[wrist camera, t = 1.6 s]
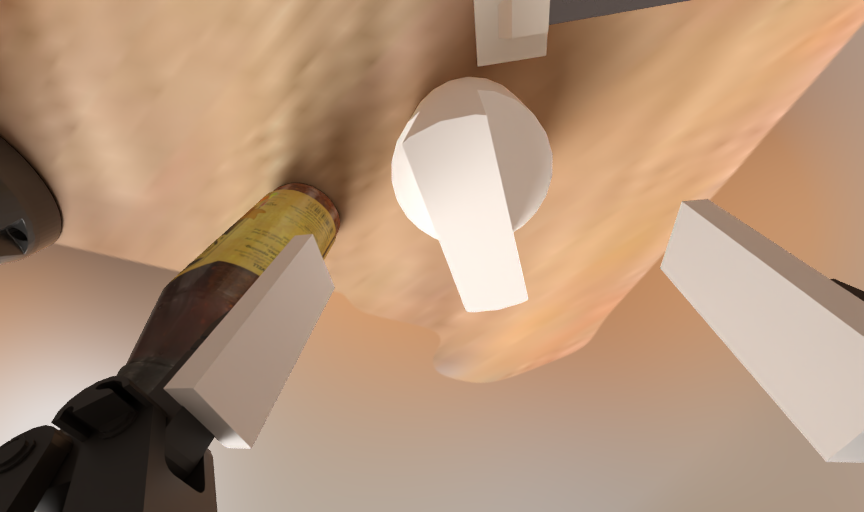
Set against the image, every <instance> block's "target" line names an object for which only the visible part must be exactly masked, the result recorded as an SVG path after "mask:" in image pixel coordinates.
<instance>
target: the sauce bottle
mask: <svg viewBox="0 0 864 512" xmlns="http://www.w3.org/2000/svg"><path fill="white" fill-rule="evenodd" d="M339 226H340V219H339V214H338V212H337V210H336V208H335V207H334V204H333V203H332V201H331V200H330V199H329V198H328V197H327V196H326V195H325V194H324V193H323V192H322V191H320V190H318V189H316V188H314V187H312V186H308V185H305V184H301V183H290V184H287V185H284V186H280V187H278V188H277V189H276V190H274V191H273V192H270V193H268V194H267V195H266V196H265V197H264V198H263V199H261V200H260V201H259V202H258V203H257V204H256V205H255V206H254V207H253V208H251V209H250V210H249V211H248V212H247V213H246V214H245V215H244V216H243V217H242V218H240V219H239V220H238V221H237V222H236V223H235V224H233V226H231V227H230V228H229V229H228V230H227V231H226V232H225V233H224V234H223V235H222V236H220V237H219V238H218V239H217V240H216V241H215V242H214V243H212V244H211V245H210V246H209V247H208V248H207V249H206V250H205V251H204V252H203V253H202V254H201V255H199V256H198V257H197V258H196V259H195V260H194V261H193V262H191V263H190V264H189V265H188V266H187V267H186V268H185V269H184V270H183V271H182V272H180V273H179V274H178V275H177V276H176V277H175V278H174V279H173V280H172V281H171V282H170V283H169V284H168V285H167V286H166V287H165V288H164V289H163V291H162V293H161V295H160V297H159V299H158V301H157V303H156V305H155V307H154V309H153V311H152V313H151V315H150V317H149V319H148V321H147V323H146V325H145V327H144V329H143V331H142V333H141V335H140V337H139V339H138V341H137V343H136V345H135V347H134V349H133V351H132V353H131V355H130V358H129V360H128V362H127V364H126V365H125V366H123V367H122V368H121V369H120V371H119V372H118V374H117V376H121V375H122V376H125V377H127V378H129V379H130V380H131V381H132V382H133V383H135V384H136V385H137V386H138V387H139V388H140V389H141V390H142V391H144V392H145V393H146V394H147V395H149V394H150V392H151V391H152V390H153V389H154V388H155V387H156V386H157V384H158V383H159V382H160V381H161V380H162V379H163V378H164V377H165V375H166V374H167V373H168V372H169V371H170V370H171V369H172V368H173V366H174V365H175V364H176V363H177V362H178V361H179V360H180V359H181V357H182V356H183V355H184V354H185V353H186V352H187V351H190V347H191V346H192V345H193V344H194V343H195V342H196V340H197V339H200V336H201V335H202V334H203V333H204V331H205V330H206V329H207V328H208V327H209V326H210V325H211V324H212V323H213V322H214V321H215V320H217V319H218V318H219V317H221V316H222V315H223V314H225V313H226V312H227V311H230V310H231V309H232V308H233V307H234V306H235V305H236V303H237V302H238V301H239V300H240V299H241V298H242V296H243V295H244V294H245V293H246V292H247V291H248V289H249V288H250V287H251V286H252V285H253V284H254V282H255V281H256V280H257V279H258V278H259V277H260V275H261V274H262V273H263V272H264V271H265V270H266V269H267V267H268V266H269V265H270V264H271V263H272V262H273V260H274V259H275V258H276V257H277V256H278V255H279V253H280V252H281V251H282V250H283V249H284V248H285V246H286V245H287V244H288V243H289V242H290V241H291V239H292V238H293V237H294V236H295V235H307V234H313V236H314V238H315V241H316V243H317V245H318V248H319V250H320V253H321V255H322V257H323V260H324V259H325V257H326V256H327V254H328V252H329V250H330V249H331V247H332V245H333V243H334V241H335V239H336V234H337V233H338V229H339ZM59 431H61V432H62V433H64V434H65V435H69V434H68V433H67V432H65V431H63V430H62V429H60V430H59Z"/></svg>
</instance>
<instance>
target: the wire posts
mask: <svg viewBox="0 0 864 512" xmlns="http://www.w3.org/2000/svg"><path fill="white" fill-rule="evenodd" d="M549 9H550V0H474V16H475V34H476V53H477V66H478V67H479V66H486V65H492V64H498V63H504V62H510V61H517V60H523V59H529V58H535V57H541V56H546V53H547V33H548V28H549Z"/></svg>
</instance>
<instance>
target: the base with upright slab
mask: <svg viewBox="0 0 864 512" xmlns="http://www.w3.org/2000/svg"><path fill="white" fill-rule="evenodd" d="M551 178H552V151H551V147H550V144H549V140H548V137H547V133H546V132H545V130H544V129H543V127H542V126H541V124H540V123H539V121H538V120H537V118H536V116H535V115H534V114H533V113H532V112H531V111H530V110H529V109H528V108H527V107H526V106H525V105H524V104H523V103H522V102H521V101H520V100H519V99H518V97H517V96H515V95H514V94H513V93H512V92H511V91H509V90H508V89H507V88H506V87H504V86H503V85H502V84H499V83H497V82H494V81H492V80H489V79H487V78H478V77H464V78H459V79H455V80H450V81H448V82H446V83H444V84H442V85H440V86H439V87H437V88H435V89H433V90H432V91H431V92H430V93H429V94H428V95H427V96H426V97H425V98H424V99H423V100H422V101H421V102H420V103H419V105H418V106H417V108H416V110H415V111H414V113H413V115H412V116H411V118H410V120H409V122H408V123H407V125H406V127H405V128H404V130H403V132H402V134H401V135H400V137H399V139H398V140H397V143H396V147H395V151H394V154H393V158H392V184H393V188H394V191H395V195H396V198H397V201H398V203H399V204H400V206H401V208H402V209H403V211H404V213H405V214H406V216H407V217H408V218H409V219H410V220H411V221H412V222H413V223H414V224H415V225H416V226H417V227H418V228H419V229H420V230H422V231H423V232H425V233H427V234H428V235H430V236H432V237H433V238H435V239H438V240H439V242H440V244H441V247H442V250H443V252H444V255H445V257H446V260H447V263H448V265H449V268H450V270H451V273H452V276H453V278H454V281H455V283H456V286H457V289H458V291H459V294H460V296H461V299H462V302H463V304H464V307H465V309H466V311H467V312H480V311H491V310H499V309H503V308H506V307H510V306H513V305H516V304H520V303H523V302H525V301H527V300H528V295H527V291H526V286H525V282H524V278H523V273H522V269H521V264H520V260H519V256H518V251H517V247H516V243H515V238H514V234H513V232H514V231H516V230H517V229H519V228H521V227H522V226H523V225H524V224H525V223H526V222H527V221H528V220H529V219H530V218H531V217H532V216H533V215H534V214H535V213H536V212H537V210H538V208H539V207H540V205H541V203H542V202H543V200H544V198H545V197H546V195H547V191H548V188H549V185H550V181H551Z"/></svg>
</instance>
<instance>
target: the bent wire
mask: <svg viewBox="0 0 864 512" xmlns="http://www.w3.org/2000/svg"><path fill="white" fill-rule="evenodd" d="M683 1H689V0H550V9H549V25H551V24H557V23H563V22H568V21H574V20H580V19H586V18H591V17H597V16H603V15H609V14H614V13H620V12H626V11H632V10H637V9H643V8H649V7H655V6H660V5H666V4H672V3H677V2H683Z"/></svg>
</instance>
